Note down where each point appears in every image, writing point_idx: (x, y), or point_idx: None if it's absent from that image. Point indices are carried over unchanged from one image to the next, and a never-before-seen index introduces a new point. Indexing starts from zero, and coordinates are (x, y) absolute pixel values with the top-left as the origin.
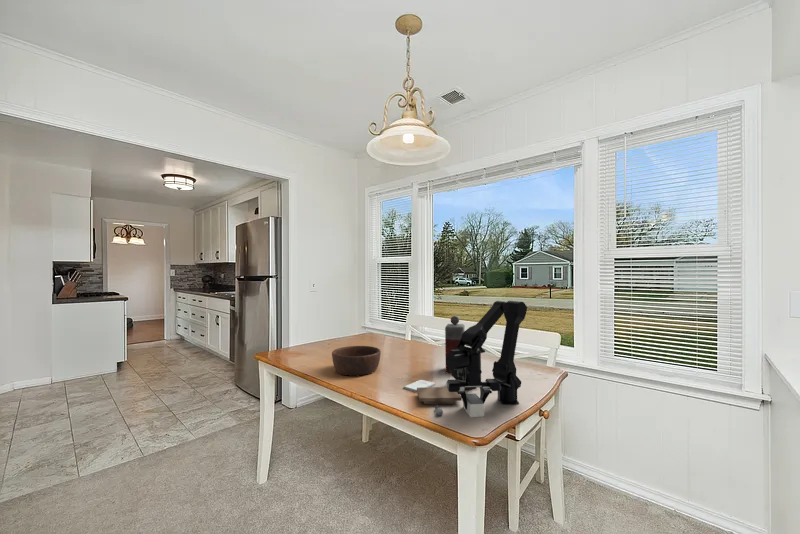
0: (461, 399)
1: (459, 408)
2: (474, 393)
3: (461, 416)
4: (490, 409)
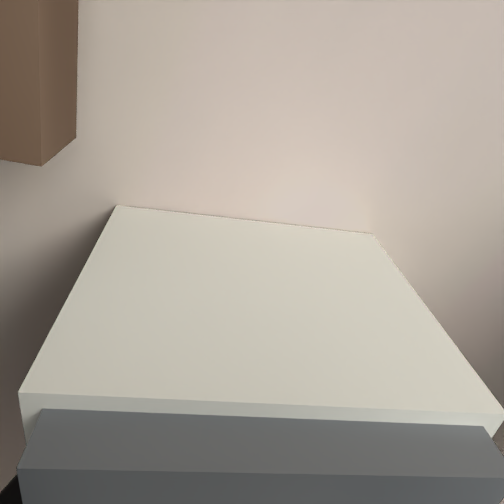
0: (63, 147)
1: (24, 244)
2: (475, 476)
3: (3, 470)
4: (495, 365)
